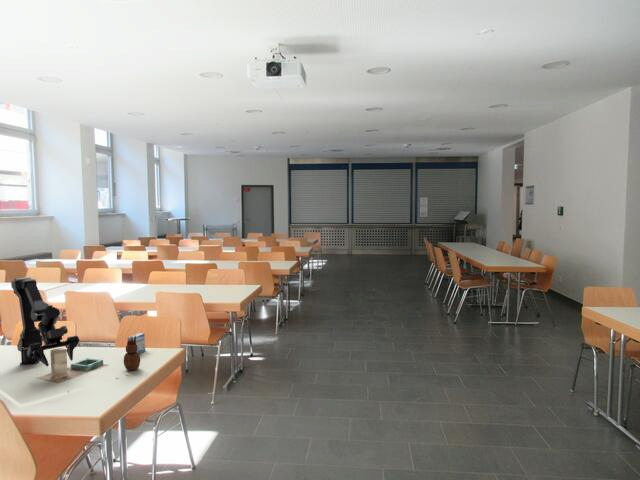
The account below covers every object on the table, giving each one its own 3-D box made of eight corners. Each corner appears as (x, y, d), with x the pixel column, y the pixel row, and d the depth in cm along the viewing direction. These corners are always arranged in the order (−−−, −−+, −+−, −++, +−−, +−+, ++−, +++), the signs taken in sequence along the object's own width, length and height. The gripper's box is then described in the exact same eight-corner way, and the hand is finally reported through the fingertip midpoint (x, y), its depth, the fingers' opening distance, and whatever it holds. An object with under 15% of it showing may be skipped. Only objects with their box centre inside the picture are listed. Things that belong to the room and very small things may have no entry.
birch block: (51, 376, 193) (50, 350, 192) (63, 373, 196) (62, 347, 196) (55, 378, 190) (54, 352, 189) (67, 375, 193) (66, 349, 193)
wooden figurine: (143, 368, 204) (142, 334, 204) (133, 372, 199) (131, 337, 198) (131, 366, 207) (130, 333, 206) (121, 370, 202) (120, 336, 201)
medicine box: (136, 355, 224) (135, 337, 224) (127, 354, 225) (127, 337, 224) (145, 350, 232) (144, 333, 231) (137, 350, 233) (136, 333, 232)
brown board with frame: (58, 385, 185) (58, 377, 185) (35, 380, 191) (35, 373, 191) (109, 367, 207) (109, 360, 206) (87, 363, 213) (87, 356, 213)
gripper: (28, 325, 187) (39, 357, 181) (76, 316, 202) (88, 346, 195) (22, 341, 193) (33, 373, 186) (70, 332, 207) (81, 361, 200)
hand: (60, 362), depth 192 cm, fingers open, 9 cm apart
